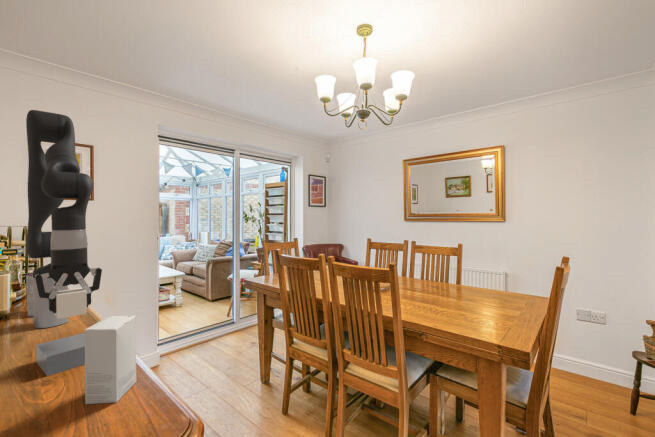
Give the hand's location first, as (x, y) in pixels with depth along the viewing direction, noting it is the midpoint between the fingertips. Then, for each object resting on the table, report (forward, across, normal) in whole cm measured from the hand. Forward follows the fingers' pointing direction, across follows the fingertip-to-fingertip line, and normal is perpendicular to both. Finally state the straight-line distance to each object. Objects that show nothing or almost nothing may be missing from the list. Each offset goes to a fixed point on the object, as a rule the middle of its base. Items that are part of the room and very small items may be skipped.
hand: (70, 309), depth 83 cm
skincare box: (+14, -4, +27) cm, 31 cm away
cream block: (+1, 0, 0) cm, 1 cm away
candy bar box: (+14, +1, -62) cm, 63 cm away
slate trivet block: (+14, 0, 0) cm, 14 cm away
